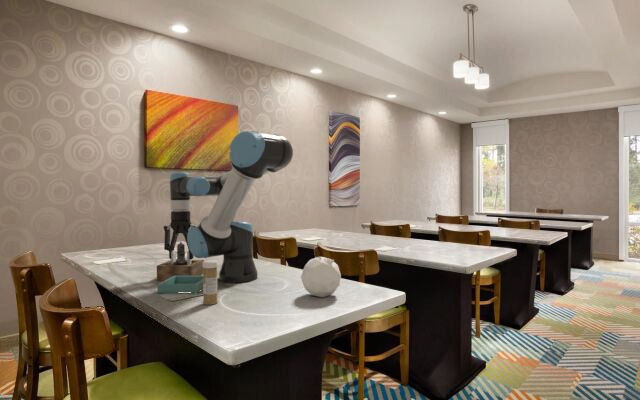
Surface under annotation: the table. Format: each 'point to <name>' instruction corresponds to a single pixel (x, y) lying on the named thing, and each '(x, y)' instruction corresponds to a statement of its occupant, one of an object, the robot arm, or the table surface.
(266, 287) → the table surface
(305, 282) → the geodesic sphere
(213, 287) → the sprinkles bottle
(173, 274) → the wooden crate
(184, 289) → the tray
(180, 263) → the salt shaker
